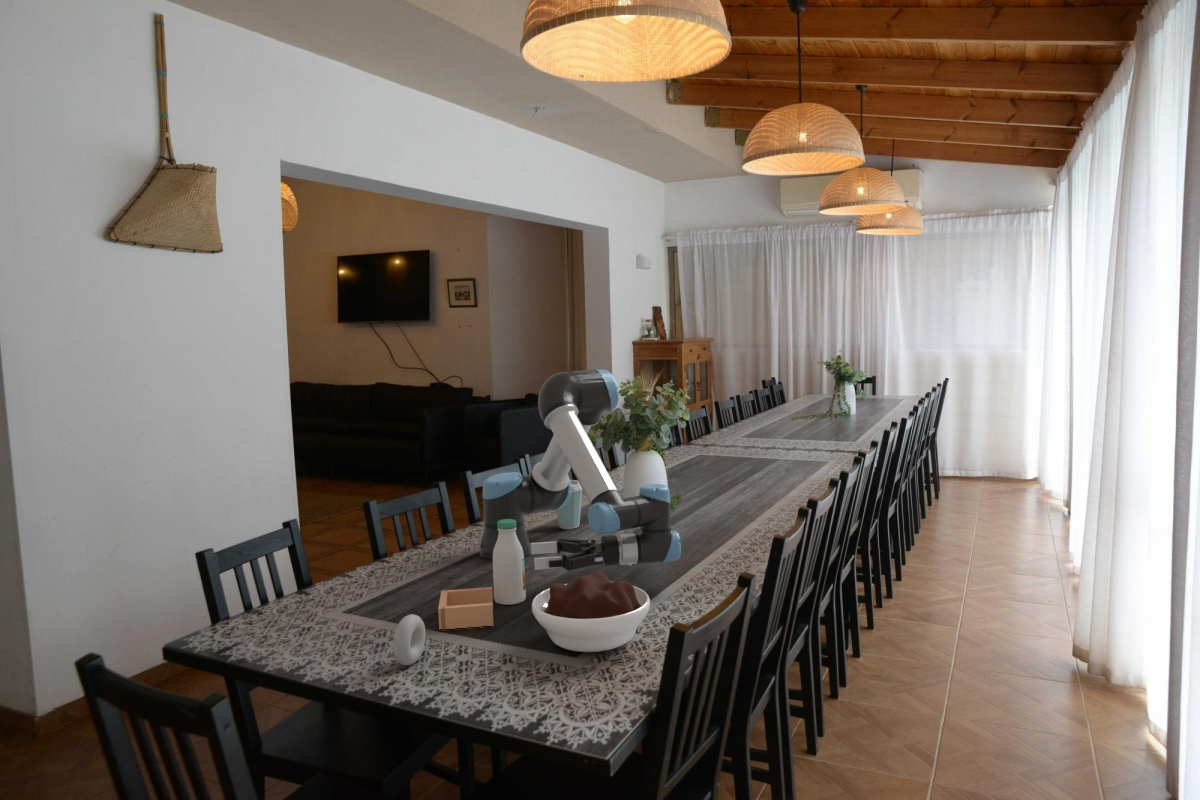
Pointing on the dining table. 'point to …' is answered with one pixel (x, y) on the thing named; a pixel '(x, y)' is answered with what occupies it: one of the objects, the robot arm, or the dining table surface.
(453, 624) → the box
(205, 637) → the dining table surface
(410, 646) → the donut
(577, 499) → the disposable coffee cup
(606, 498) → the robot arm
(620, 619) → the bowl of chocolate pudding
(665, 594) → the dining table surface
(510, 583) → the milk bottle
